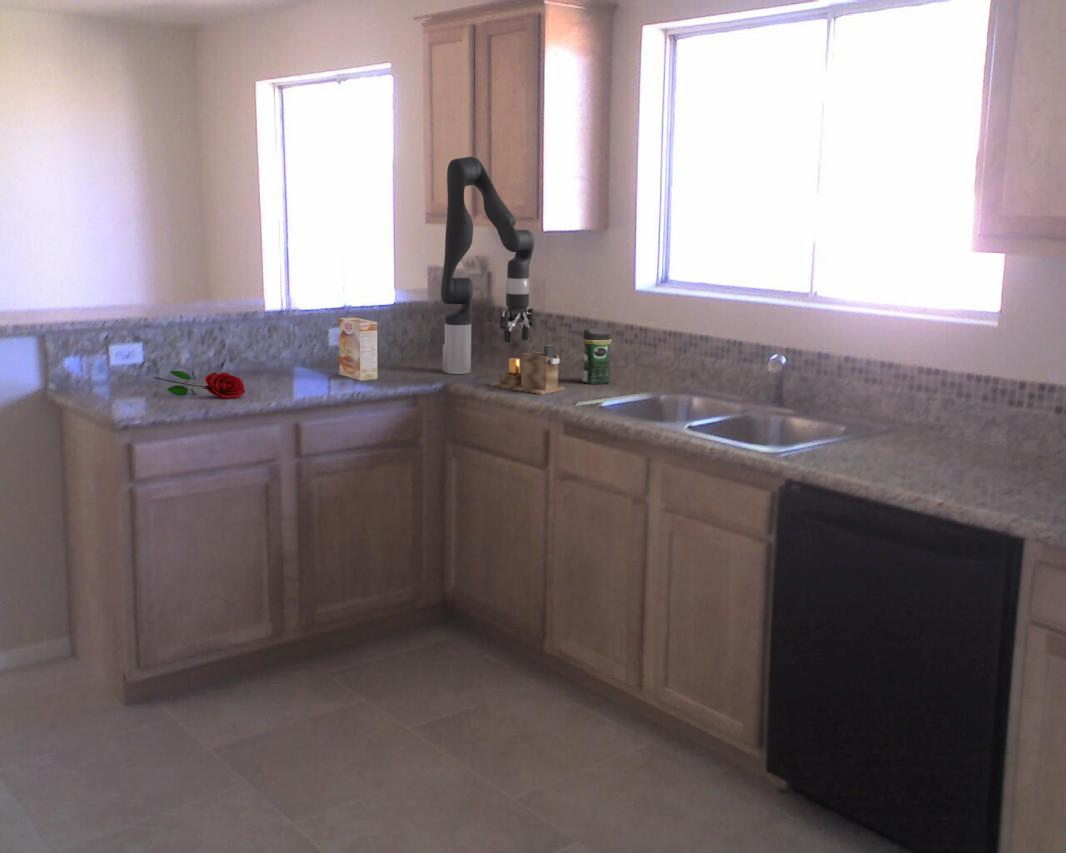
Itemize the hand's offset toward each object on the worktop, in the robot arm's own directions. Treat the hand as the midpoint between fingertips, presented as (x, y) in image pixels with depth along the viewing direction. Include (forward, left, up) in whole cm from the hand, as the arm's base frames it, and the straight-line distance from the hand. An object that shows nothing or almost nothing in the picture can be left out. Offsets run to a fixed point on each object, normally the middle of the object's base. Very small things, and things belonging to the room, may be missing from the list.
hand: (516, 341), depth 372 cm
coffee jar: (+14, +25, -15) cm, 33 cm away
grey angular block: (+12, -1, -5) cm, 13 cm away
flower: (-54, -86, -15) cm, 102 cm away
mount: (+6, -1, -15) cm, 16 cm away
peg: (0, -1, -14) cm, 14 cm away
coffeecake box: (-48, -27, -15) cm, 57 cm away
